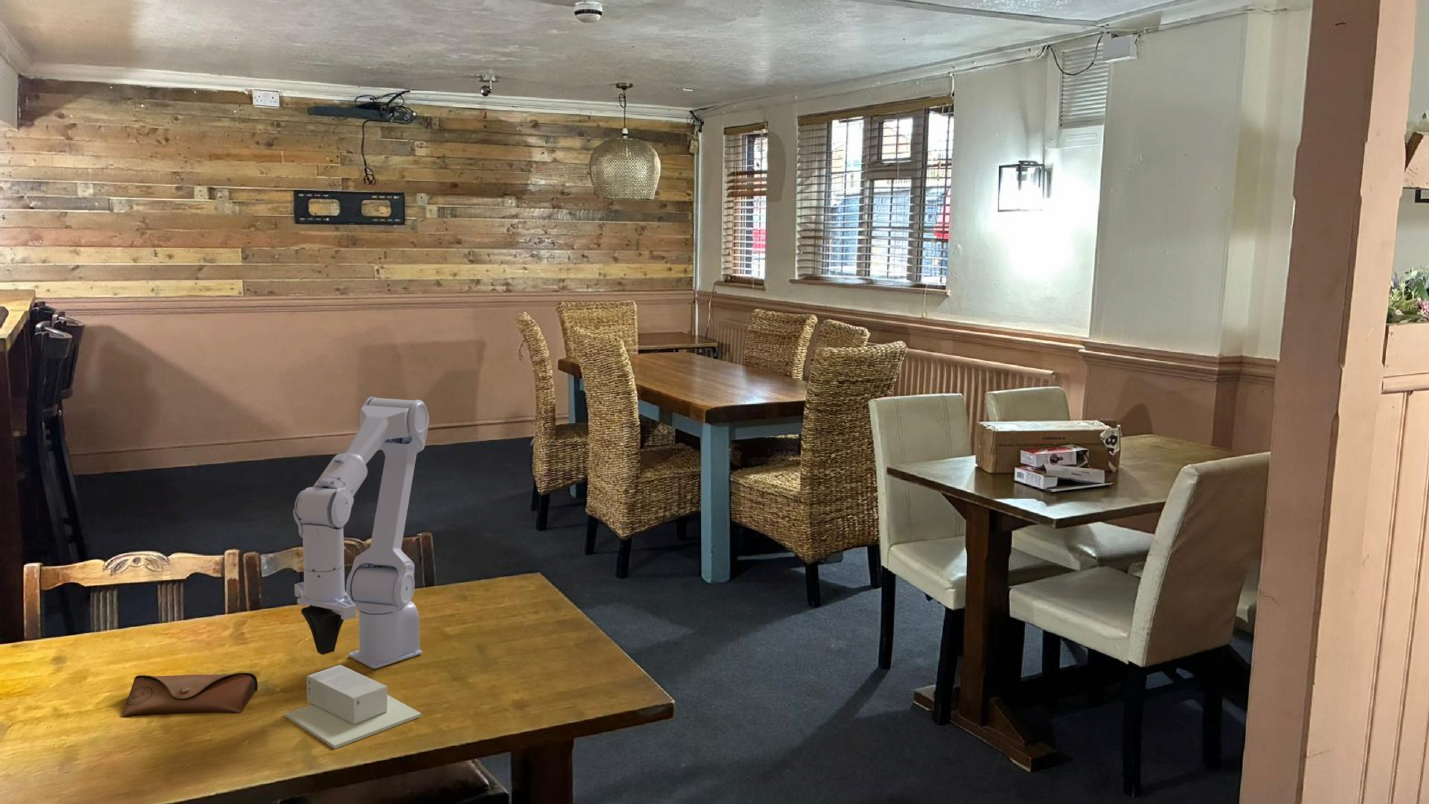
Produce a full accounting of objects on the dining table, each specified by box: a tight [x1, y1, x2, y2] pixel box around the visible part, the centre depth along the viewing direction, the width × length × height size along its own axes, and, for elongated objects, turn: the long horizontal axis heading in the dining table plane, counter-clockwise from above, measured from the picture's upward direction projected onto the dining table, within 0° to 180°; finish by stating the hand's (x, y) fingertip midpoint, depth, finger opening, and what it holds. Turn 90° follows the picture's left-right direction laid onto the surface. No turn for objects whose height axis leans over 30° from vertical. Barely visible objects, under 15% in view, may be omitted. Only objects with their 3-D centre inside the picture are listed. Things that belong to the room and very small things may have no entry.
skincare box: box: [306, 664, 388, 725], centre depth 158 cm, size 6×4×12 cm
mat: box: [284, 694, 422, 750], centre depth 156 cm, size 14×14×1 cm
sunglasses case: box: [118, 672, 259, 718], centre depth 159 cm, size 18×7×7 cm, turn 101°
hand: (326, 652), depth 160 cm, fingers closed
